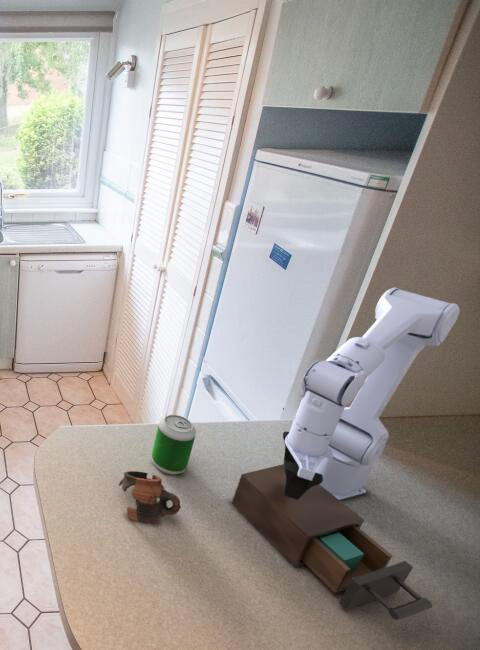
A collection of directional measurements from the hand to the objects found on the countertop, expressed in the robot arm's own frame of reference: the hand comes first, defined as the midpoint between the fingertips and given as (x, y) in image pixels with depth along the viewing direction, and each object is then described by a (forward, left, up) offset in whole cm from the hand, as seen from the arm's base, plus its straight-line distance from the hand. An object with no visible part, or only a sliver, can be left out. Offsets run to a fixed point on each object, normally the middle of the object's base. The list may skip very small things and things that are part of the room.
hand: (290, 482), depth 85 cm
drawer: (-1, +13, -10) cm, 16 cm away
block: (-1, +13, -6) cm, 14 cm away
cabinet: (-1, +1, -10) cm, 11 cm away
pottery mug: (+23, -10, -11) cm, 27 cm away
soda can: (+11, -19, -11) cm, 24 cm away
